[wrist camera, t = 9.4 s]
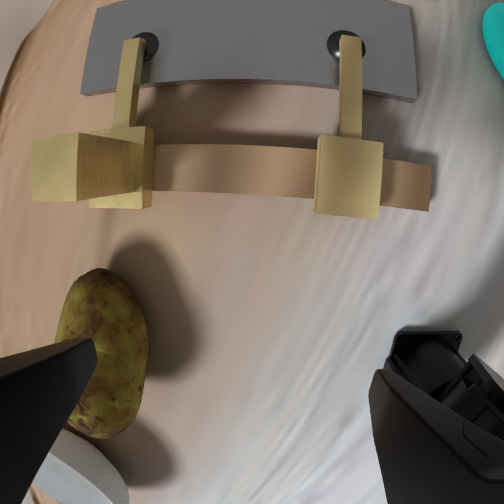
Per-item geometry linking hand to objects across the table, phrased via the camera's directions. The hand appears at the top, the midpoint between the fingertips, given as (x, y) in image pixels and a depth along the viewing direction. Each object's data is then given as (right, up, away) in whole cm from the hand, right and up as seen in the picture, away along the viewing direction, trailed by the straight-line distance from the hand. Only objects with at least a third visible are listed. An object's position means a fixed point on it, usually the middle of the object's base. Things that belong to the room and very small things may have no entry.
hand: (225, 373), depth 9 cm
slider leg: (-7, +13, +10) cm, 18 cm away
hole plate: (0, +19, +9) cm, 21 cm away
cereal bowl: (-21, -23, +21) cm, 37 cm away
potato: (-10, -4, +16) cm, 19 cm away
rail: (0, +12, +10) cm, 16 cm away
